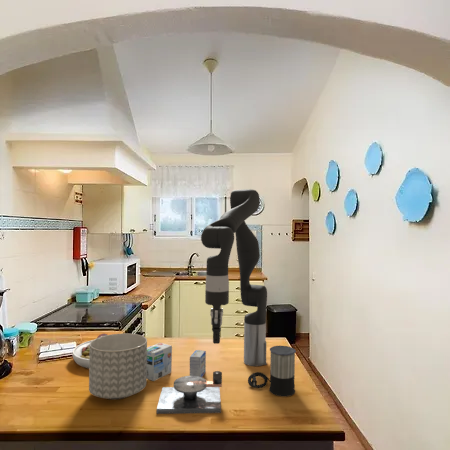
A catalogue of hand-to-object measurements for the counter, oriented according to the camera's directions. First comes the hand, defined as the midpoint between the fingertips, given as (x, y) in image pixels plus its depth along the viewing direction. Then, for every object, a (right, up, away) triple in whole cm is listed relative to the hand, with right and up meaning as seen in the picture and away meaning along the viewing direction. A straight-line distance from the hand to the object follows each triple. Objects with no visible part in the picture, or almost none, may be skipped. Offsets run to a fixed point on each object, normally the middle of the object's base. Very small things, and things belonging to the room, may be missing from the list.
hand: (216, 342), depth 116 cm
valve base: (-9, -21, +4) cm, 23 cm away
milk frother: (+19, -22, +14) cm, 32 cm away
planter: (-34, -21, +9) cm, 41 cm away
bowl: (-48, -21, +42) cm, 67 cm away
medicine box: (-8, -21, +25) cm, 34 cm away
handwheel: (-6, -16, +4) cm, 17 cm away
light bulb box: (-24, -21, +25) cm, 41 cm away
